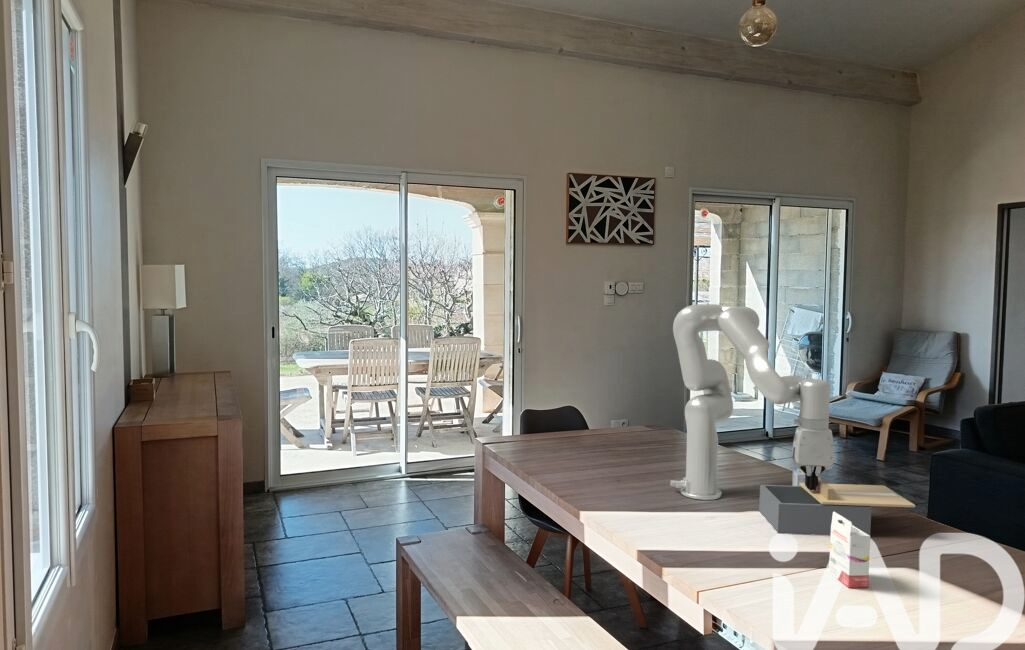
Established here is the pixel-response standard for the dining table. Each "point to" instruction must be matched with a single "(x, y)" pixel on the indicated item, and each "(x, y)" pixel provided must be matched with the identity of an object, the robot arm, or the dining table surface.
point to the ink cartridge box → (849, 553)
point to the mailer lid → (856, 495)
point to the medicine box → (798, 477)
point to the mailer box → (806, 511)
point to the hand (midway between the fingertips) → (811, 488)
